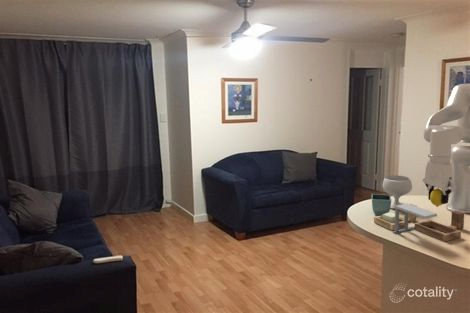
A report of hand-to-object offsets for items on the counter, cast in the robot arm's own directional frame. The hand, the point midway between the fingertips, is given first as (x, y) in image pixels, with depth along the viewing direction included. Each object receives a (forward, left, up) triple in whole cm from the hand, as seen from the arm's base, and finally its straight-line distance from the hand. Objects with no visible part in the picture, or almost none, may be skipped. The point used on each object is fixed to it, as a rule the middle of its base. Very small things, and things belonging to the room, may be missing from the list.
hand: (438, 200), depth 158 cm
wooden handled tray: (-4, 0, -14) cm, 15 cm away
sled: (+5, -16, -14) cm, 22 cm away
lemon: (0, 0, -3) cm, 3 cm away
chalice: (-12, -34, -14) cm, 39 cm away
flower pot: (+3, -29, -14) cm, 32 cm away
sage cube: (+9, -16, -14) cm, 24 cm away
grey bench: (+4, -1, -14) cm, 15 cm away
